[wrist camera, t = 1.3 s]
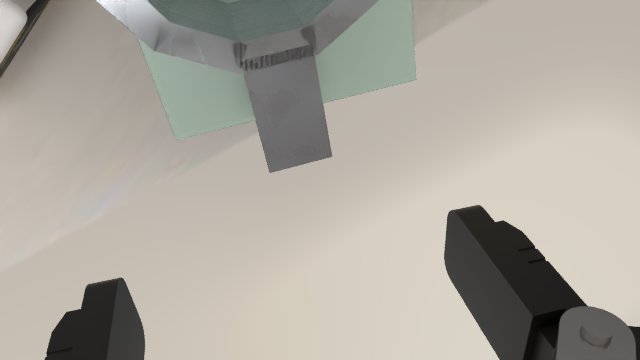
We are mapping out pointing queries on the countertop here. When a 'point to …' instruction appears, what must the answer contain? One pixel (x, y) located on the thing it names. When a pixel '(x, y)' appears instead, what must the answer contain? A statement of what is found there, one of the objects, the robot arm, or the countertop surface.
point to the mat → (332, 66)
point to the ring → (255, 57)
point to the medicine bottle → (16, 26)
